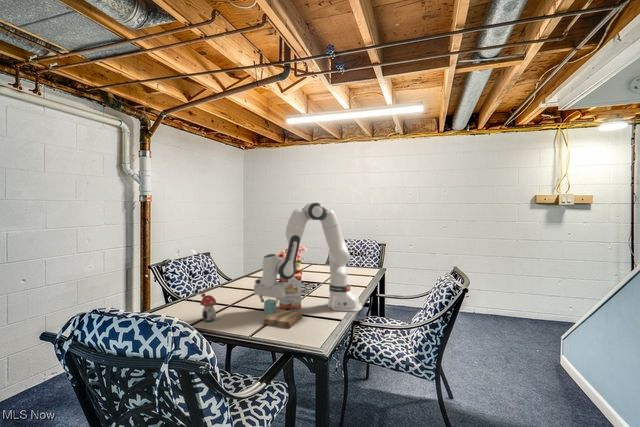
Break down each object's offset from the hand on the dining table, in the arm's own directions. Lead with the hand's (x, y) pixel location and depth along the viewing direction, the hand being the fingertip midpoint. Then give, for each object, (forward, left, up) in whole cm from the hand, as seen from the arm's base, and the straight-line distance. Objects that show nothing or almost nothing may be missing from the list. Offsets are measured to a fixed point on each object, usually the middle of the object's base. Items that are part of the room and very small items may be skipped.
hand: (269, 303), depth 184 cm
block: (-1, 0, -6) cm, 6 cm away
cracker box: (-9, -12, -6) cm, 16 cm away
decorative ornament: (+26, +23, -6) cm, 35 cm away
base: (-15, +9, -5) cm, 18 cm away
